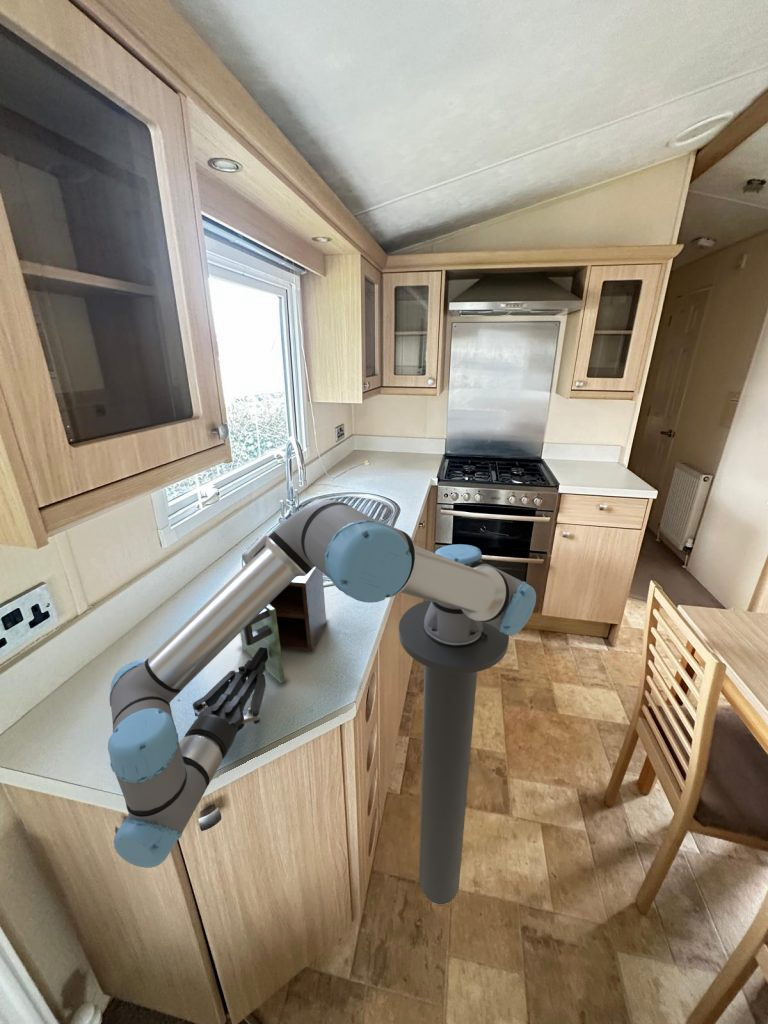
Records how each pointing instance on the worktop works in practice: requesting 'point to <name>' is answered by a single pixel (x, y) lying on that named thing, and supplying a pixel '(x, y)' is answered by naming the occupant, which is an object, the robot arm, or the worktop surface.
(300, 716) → the worktop surface
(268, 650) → the door
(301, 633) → the cupboard
